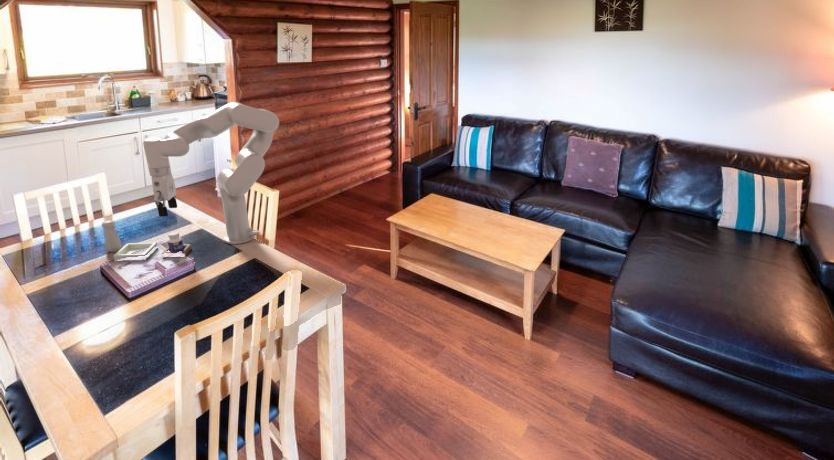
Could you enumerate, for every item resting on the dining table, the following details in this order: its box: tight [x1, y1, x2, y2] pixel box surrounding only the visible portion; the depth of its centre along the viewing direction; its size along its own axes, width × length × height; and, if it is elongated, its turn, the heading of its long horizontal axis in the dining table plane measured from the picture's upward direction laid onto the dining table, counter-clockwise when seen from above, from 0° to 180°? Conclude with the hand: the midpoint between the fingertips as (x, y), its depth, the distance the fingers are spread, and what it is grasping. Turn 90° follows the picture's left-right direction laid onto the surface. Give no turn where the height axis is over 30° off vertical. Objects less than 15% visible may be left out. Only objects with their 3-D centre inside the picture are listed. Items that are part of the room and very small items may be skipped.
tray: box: [113, 241, 158, 261], centre depth 200 cm, size 12×12×3 cm
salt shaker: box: [101, 220, 123, 253], centre depth 202 cm, size 6×6×13 cm
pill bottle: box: [167, 231, 184, 252], centre depth 200 cm, size 5×5×9 cm
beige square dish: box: [161, 243, 192, 255], centre depth 201 cm, size 8×8×2 cm
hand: (168, 211), depth 195 cm, fingers open, 9 cm apart
